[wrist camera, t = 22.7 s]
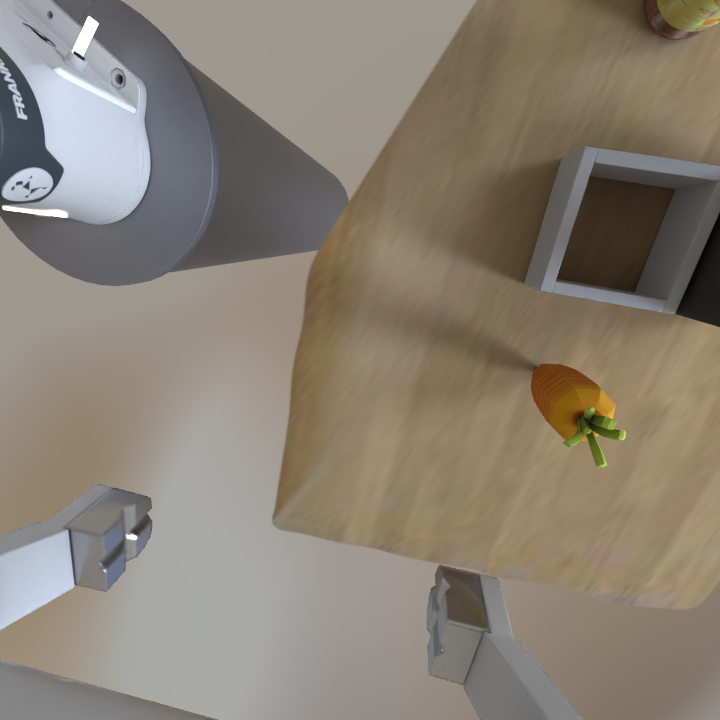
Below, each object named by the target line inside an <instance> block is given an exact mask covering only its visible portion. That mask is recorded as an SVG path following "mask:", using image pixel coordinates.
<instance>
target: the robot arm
mask: <svg viewBox="0 0 720 720" xmlns="http://www.w3.org/2000/svg"><path fill="white" fill-rule="evenodd" d="M97 26H98V23H97V22H96V21H95V20H93V19H92V18H90V17H89V16H88V18H87V21H86V23H85V25H84V27H82V26H81V25H80V24H79V23H78V22H76V21H75V20H74V19H73V18H72V17H71V16H70V15H69V14H68V13H66V12H65V11H64V10H63V9H62V8H61V7H60V6H59V5H58V4H56V3H55V2H54V1H53V0H0V205H2V206H7V207H3V210H9V211H17V212H25V213H33V214H34V215H36V216H41V217H47V218H54V217H67V218H71V219H74V220H77V221H81V222H84V223H88V224H95V225H104V224H110V223H114V222H117V221H119V220H121V219H123V218H125V217H126V216H127V215H129V214H130V213H131V212H132V211H133V210H134V209H135V208H136V207H137V205H138V204H139V203H140V201H141V199H142V198H143V195H144V193H145V191H146V188H147V185H148V181H149V175H150V149H149V143H148V138H147V134H146V129H145V120H144V119H145V111H146V102H147V92H146V87H145V85H144V83H143V81H142V80H141V79H140V78H139V77H138V76H137V75H136V74H134V73H133V72H132V71H131V70H130V69H129V68H128V67H127V66H126V65H124V64H123V63H122V62H121V61H120V60H119V59H118V58H117V57H115V56H114V55H113V54H112V53H111V52H110V51H109V50H108V49H107V48H105V47H104V46H103V45H102V44H101V43H100V42H99V41H98V40H97V39H95V38H94V37H93V34H94V32H95V30H96V28H97ZM122 77H123V80H124V81H123V84H121V78H122ZM151 509H152V504H151V498H149V497H148V496H144V495H140V494H136V493H133V492H129V491H125V490H121V489H118V488H112V487H109V486H105V485H101V484H98V485H94V486H92V487H90V488H89V489H88V490H87V491H85V492H84V493H83V494H81V495H80V496H79V497H78V498H76V499H75V500H74V501H72V502H71V503H70V504H69V505H67V506H66V507H65V508H63V509H62V510H61V511H59V512H58V513H57V514H56V515H54V516H53V517H52V518H50V519H49V520H48V521H46V522H45V523H40V522H37V523H35V524H32V525H29V526H26V527H23V528H20V529H17V530H14V531H11V532H9V533H6V534H3V535H0V630H1V629H3V628H5V627H6V626H8V625H10V624H11V623H13V622H15V621H17V620H18V619H20V618H22V617H24V616H25V615H27V614H29V613H31V612H32V611H34V610H36V609H37V608H39V607H41V606H43V605H44V604H46V603H48V602H50V601H51V600H53V599H55V598H56V597H58V596H60V595H62V594H63V593H65V592H67V591H69V590H70V589H72V588H74V587H75V585H77V586H82V587H86V588H91V589H95V590H100V591H104V592H107V591H108V590H109V589H110V587H111V586H112V585H113V584H114V583H115V582H116V581H117V579H118V578H119V577H120V576H121V575H122V573H123V572H124V571H125V567H126V562H127V561H129V560H131V559H133V558H135V557H137V556H138V555H139V554H140V553H141V551H142V550H143V549H144V548H145V546H146V544H147V542H148V540H149V538H150V535H151V531H152V520H151V519H150V517H149V516H148V514H147V513H148V512H149V511H150V510H151ZM435 583H436V586H434V587H432V588H431V592H430V595H429V600H428V606H427V630H428V631H429V633H430V634H431V637H430V640H429V643H428V670H429V675H430V676H434V677H437V678H440V679H444V680H447V681H451V682H454V683H458V684H461V685H464V689H465V691H466V693H467V695H468V697H469V699H470V701H471V703H472V705H473V707H474V709H475V711H476V712H477V715H478V717H479V719H480V720H583V718H582V717H581V716H580V715H579V713H578V712H577V711H576V710H575V709H574V708H573V706H572V705H571V704H570V702H569V701H568V700H567V699H566V697H565V696H564V695H563V694H562V692H561V691H560V690H559V689H558V687H557V686H556V685H555V684H554V682H553V681H552V680H551V679H550V677H549V676H548V675H547V674H546V672H545V671H544V670H543V669H542V668H541V666H540V665H539V664H538V662H537V661H536V660H535V659H534V658H533V656H532V655H531V654H530V652H529V651H528V650H527V649H526V647H525V646H524V645H523V644H522V642H521V641H519V640H515V639H514V637H513V633H512V629H511V626H510V622H509V618H508V614H507V610H506V606H505V602H504V598H503V594H502V590H501V586H500V582H499V580H498V579H497V578H496V577H492V576H487V575H483V574H478V573H477V574H476V573H474V572H469V571H465V570H460V569H456V568H451V567H447V566H442V565H439V567H438V568H437V571H436V574H435ZM0 720H217V719H214V718H210V717H206V716H203V715H199V714H195V713H192V712H188V711H184V710H181V709H178V708H174V707H170V706H167V705H163V704H160V703H156V702H152V701H149V700H145V699H141V698H138V697H134V696H131V695H127V694H123V693H120V692H116V691H113V690H109V689H105V688H102V687H98V686H94V685H91V684H88V683H84V682H80V681H77V680H73V679H69V678H65V677H62V676H59V675H55V674H52V673H48V672H44V671H41V670H37V669H33V668H30V667H26V666H23V665H19V664H16V663H12V662H9V661H4V660H1V659H0Z"/></svg>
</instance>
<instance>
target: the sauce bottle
mask: <svg viewBox="0 0 720 720" xmlns="http://www.w3.org/2000/svg"><path fill="white" fill-rule="evenodd" d="M646 14H647V17H648V21H649V24H650V25H651V26H652V28H653V29H654V31H655V32H657V33H659V34H660V35H661V36H663V37H665V38H668V39H672V40H677V39H685V38H690V37H692V36H694V35H696V34H698V33H700V32H702V31H704V30H705V29H707V28H709V27H711V26H714V25H715V24H717V23H719V22H720V0H647V1H646Z"/></svg>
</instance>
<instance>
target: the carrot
mask: <svg viewBox="0 0 720 720" xmlns="http://www.w3.org/2000/svg"><path fill="white" fill-rule="evenodd" d="M531 390H532V395H533V398H534V401H535V403H536V405H537V407H538V408H539V410H540V412H541V413H542V415H543V416H544V418H545V419H546V421H547V422H548V423H549V424H550V425H551V426H552V427H553V428H554V429H555V430H556V431H557V432H558V433H559V434H560V435H561V437H563V438H564V439H566V441H564V442H563V443H564V444H565V445H566V446H568V447H570V446H573V445H575V444H577V443H579V442H580V441H588V442H589V445H590V448H591V451H592V454H593V457H594V461H595V464H596V466H597V468H602V467H605V466H607V464H606V460H605V457H604V454H603V452H602V449H601V447H600V445H599V443H598V441H597V439H596V437H597V436H599V435H601V436H603V437H606V438H610V439H615V440H624V439H625V436H626V431H622V430H613V429H614V427H615V425H616V421H615V420H614V419H613V415H614V410H615V404H614V403H613V401H612V400H611V399H610V398H609V397H608V396H607V395H606V394H605V393H604V392H603V390H602V389H601V388H600V387H599V386H598V385H597V384H596V383H594V382H593V381H592V380H590V379H589V378H588V377H586V376H585V375H583V374H582V373H580V372H579V371H577V370H575V369H572V368H570V367H567V366H563V365H560V364H541V365H540V366H538V367H537V368H536V369H535V370H533V375H532V382H531Z"/></svg>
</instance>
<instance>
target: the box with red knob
mask: <svg viewBox="0 0 720 720" xmlns="http://www.w3.org/2000/svg"><path fill="white" fill-rule="evenodd" d="M590 176H593V177H600V178H606V179H613V180H619V181H626V182H633V183H639V184H646V185H652V186H659V187H665V188H672V189H675V191H674V194H673V196H672V199H671V201H670V204H669V206H668V209H667V211H666V214H665V217H664V219H663V222H662V224H661V227H660V229H659V232H658V234H657V237H656V239H655V242H654V244H653V247H652V249H651V252H650V254H649V257H648V259H647V262H646V264H645V267H644V270H643V272H642V275H641V277H640V280H639V282H638V285H637V287H636V290H635V292H630V291H624V290H619V289H613V288H607V287H601V286H596V285H590V284H584V283H578V282H572V281H567V280H561V279H556V278H557V275H558V272H559V269H560V266H561V263H562V260H563V256H564V253H565V250H566V247H567V244H568V241H569V238H570V235H571V232H572V229H573V226H574V223H575V220H576V217H577V213H578V210H579V207H580V204H581V201H582V198H583V195H584V192H585V189H586V186H587V183H588V180H589V177H590ZM524 284H525V285H528V286H530V287H532V288H535V289H537V290H539V291H544V292H549V293H555V294H561V295H567V296H572V297H578V298H584V299H589V300H595V301H601V302H606V303H612V304H618V305H623V306H629V307H635V308H640V309H646V310H652V311H657V312H663V313H669V314H677V315H681V316H684V317H688V318H691V319H694V320H698V321H701V322H704V323H708V324H711V325H715V326H718V327H720V166H717V165H711V164H704V163H697V162H690V161H683V160H677V159H670V158H663V157H656V156H649V155H643V154H636V153H629V152H622V151H615V150H609V149H602V148H599V149H598V148H595V147H588V146H585V147H583V148H581V149H579V150H578V151H576V152H574V153H572V154H570V155H568V156H566V157H564V158H562V159H561V162H560V165H559V168H558V172H557V175H556V178H555V182H554V185H553V188H552V192H551V195H550V198H549V202H548V205H547V208H546V212H545V215H544V218H543V222H542V225H541V229H540V232H539V235H538V239H537V242H536V245H535V249H534V252H533V255H532V259H531V262H530V265H529V269H528V272H527V275H526V279H525V282H524Z"/></svg>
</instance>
